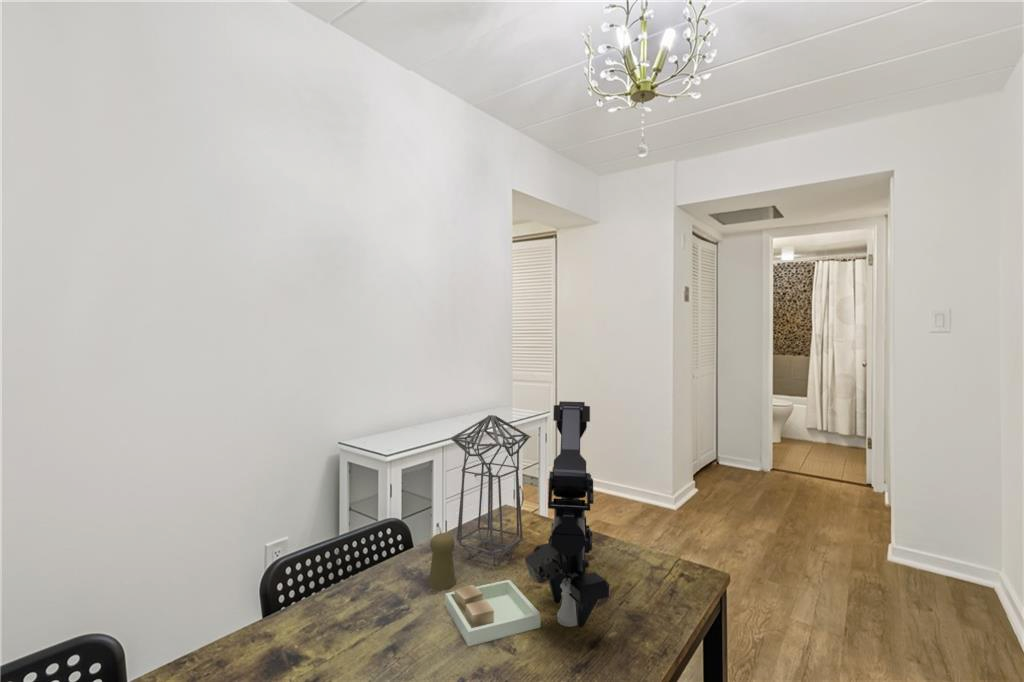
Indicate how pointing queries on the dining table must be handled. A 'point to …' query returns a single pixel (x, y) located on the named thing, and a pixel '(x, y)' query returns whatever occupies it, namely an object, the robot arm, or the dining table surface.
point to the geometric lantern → (456, 439)
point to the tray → (497, 613)
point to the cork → (442, 562)
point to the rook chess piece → (567, 606)
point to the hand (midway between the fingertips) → (568, 614)
